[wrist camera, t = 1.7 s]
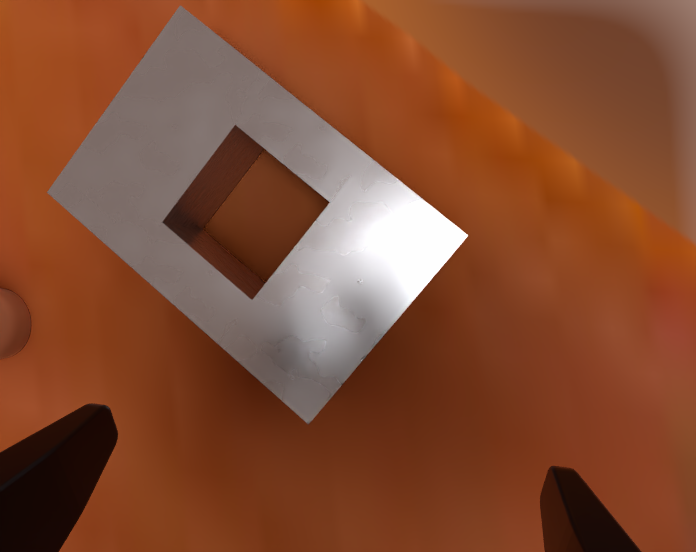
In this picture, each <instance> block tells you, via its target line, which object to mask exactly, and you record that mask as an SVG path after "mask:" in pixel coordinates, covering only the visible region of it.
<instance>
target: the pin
mask: <svg viewBox="0 0 696 552" xmlns="http://www.w3.org/2000/svg"><path fill="white" fill-rule="evenodd" d="M30 331H31V318H30V313H29V310H28V308H27V306H26V304H25V303H24V301H23V300H22V299H21V298H20V297H19V296H18V295H17V294H15V293H14V292H12V291H10V290H7V289H2V288H0V359H3V358H8V357H11V356H13V355H15V354H17V353H18V352H19V351H20V350H21V349H22V348H23V347H24V346H25V344H26V343H27V341H28V338H29V336H30Z"/></svg>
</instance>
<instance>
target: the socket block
mask: <svg viewBox="0 0 696 552" xmlns="http://www.w3.org/2000/svg"><path fill="white" fill-rule="evenodd" d="M263 149H266V150H267V151H268V152H269V153H270V154H272V155H273V156H274V157H275V158H276V159H278V160H279V161H280V162H281V163H283V164H284V165H285V166H286V167H287V168H289V169H290V170H291V171H292V172H294V173H295V174H296V175H297V176H298V177H300V178H301V179H302V180H303V181H304V182H306V183H307V184H308V185H309V186H311V187H312V188H313V189H314V190H315V191H317V192H318V193H319V194H320V195H322V196H323V197H324V198H325V199H326V200H328V201H329V202H330V203H329V204H328V206H327V207H326V208H325V209H324V211H323V212H322V213H321V214H320V216H319V217H318V218H317V219H316V221H315V222H314V223H313V224H312V226H311V227H310V228H309V229H308V231H307V232H306V233H305V235H304V236H303V237H302V238H301V240H300V241H299V242H298V243H297V245H296V246H295V247H294V248H293V250H292V251H291V252H290V253H289V255H288V256H287V257H286V258H285V260H284V261H283V262H282V263H281V265H280V266H279V267H278V268H277V270H276V271H275V272H274V273H273V275H272V276H271V277H270V278H269V280H268V281H267V282H266V283H265V282H263V281H262V280H261V279H260V278H259V277H258V276H256V275H255V274H254V273H253V272H252V271H251V270H249V269H248V268H247V267H246V266H245V265H244V264H242V263H241V262H240V261H239V260H238V259H237V258H235V257H234V256H233V255H232V254H231V253H230V252H228V251H227V250H226V249H225V248H224V247H223V246H221V245H220V244H219V243H218V242H217V241H216V240H214V239H213V238H212V237H211V236H210V235H209V234H208V233H206V232H205V231H204V230H203V228H204V227H205V225H206V224H207V223H208V221H209V220H210V219H211V217H212V216H213V215H214V213H215V212H216V211H217V210H218V208H219V207H220V206H221V204H222V203H223V202H224V200H225V199H226V198H227V196H228V195H229V194H230V193H231V191H232V190H233V189H234V187H235V186H236V185H237V183H238V182H239V181H240V179H241V178H242V177H243V176H244V174H245V173H246V172H247V170H248V169H249V168H250V166H251V165H252V164H253V162H254V161H255V160H256V159H257V157H258V156H259V155H260V153H261V152H262V151H263ZM47 193H48V194H49V195H51V196H52V197H53V198H54V199H55V200H56V201H57V202H58V203H60V204H61V205H62V206H63V207H64V208H65V209H66V210H67V211H69V212H70V213H71V214H72V215H73V216H74V217H75V218H76V219H78V220H79V221H80V222H81V223H82V224H83V225H84V226H85V227H87V228H88V229H89V230H90V231H91V232H92V233H93V234H94V235H96V236H97V237H98V238H99V239H100V240H101V241H102V242H104V243H105V244H106V245H107V246H108V247H109V248H110V249H111V250H113V251H114V252H115V253H116V254H117V255H118V256H119V257H120V258H122V259H123V260H124V261H125V262H126V263H127V264H128V265H129V266H131V267H132V268H133V269H134V270H135V271H136V272H137V273H138V274H140V275H141V276H142V277H143V278H144V279H145V280H146V281H147V282H149V283H150V284H151V285H152V286H153V287H154V288H155V289H156V290H158V291H159V292H160V293H161V294H162V295H163V296H164V297H165V298H167V299H168V300H169V301H170V302H171V303H172V304H173V305H175V306H176V307H177V308H178V309H179V310H180V311H181V312H182V313H184V314H185V315H186V316H187V317H188V318H189V319H190V320H191V321H193V322H194V323H195V324H196V325H197V326H198V327H199V328H200V329H202V330H203V331H204V332H205V333H206V334H207V335H208V336H209V337H211V338H212V339H213V340H214V341H215V342H216V343H217V344H218V345H220V346H221V347H222V348H223V349H224V350H225V351H226V352H227V353H229V354H230V355H231V356H232V357H233V358H234V359H235V360H236V361H238V362H239V363H240V364H241V365H242V366H243V367H244V368H246V369H247V370H248V371H249V372H250V373H251V374H252V375H253V376H255V377H256V378H257V379H258V380H259V381H260V382H261V383H262V384H264V385H265V386H266V387H267V388H268V389H269V390H270V391H271V392H273V393H274V394H275V395H276V396H277V397H278V398H279V399H280V400H282V401H283V402H284V403H285V404H286V405H287V406H288V407H289V408H291V409H292V410H293V411H294V412H295V413H296V414H297V415H298V416H300V417H301V418H302V419H303V420H304V421H305V422H306V423H308V424H309V423H310V422H311V421H312V420H313V419H314V417H315V416H316V415H317V414H318V413H319V411H320V410H321V409H322V408H323V407H324V406H325V404H326V403H327V402H328V401H329V400H330V398H331V397H332V396H333V395H334V394H335V393H336V391H337V390H338V389H339V388H340V387H341V385H342V384H343V383H344V382H345V381H346V380H347V378H348V377H349V376H350V375H351V374H352V372H353V371H354V370H355V369H356V368H357V366H358V365H359V364H360V363H361V362H362V361H363V359H364V358H365V357H366V356H367V355H368V353H369V352H370V351H371V350H372V349H373V348H374V346H375V345H376V344H377V343H378V342H379V340H380V339H381V338H382V337H383V336H384V335H385V333H386V332H387V331H388V330H389V329H390V327H391V326H392V325H393V324H394V323H395V322H396V320H397V319H398V318H399V317H400V316H401V314H402V313H403V312H404V311H405V310H406V308H407V307H408V306H409V305H410V304H411V303H412V301H413V300H414V299H415V298H416V297H417V295H418V294H419V293H420V292H421V291H422V290H423V288H424V287H425V286H426V285H427V284H428V282H429V281H430V280H431V279H432V278H433V277H434V275H435V274H436V273H437V272H438V271H439V269H440V268H441V267H442V266H443V265H444V264H445V262H446V261H447V260H448V259H449V258H450V256H451V255H452V254H453V253H454V252H455V250H456V249H457V248H458V247H459V246H460V245H461V243H462V242H463V241H464V240H465V239H466V237H467V236H468V235H467V234H466V233H464V232H463V231H462V230H461V229H459V228H458V227H457V226H456V225H454V224H453V223H452V222H451V221H449V220H448V219H447V218H446V217H444V216H443V215H442V214H441V213H439V212H438V211H437V210H436V209H434V208H433V207H432V206H431V205H429V204H428V203H427V202H426V201H424V200H423V199H422V198H421V197H419V196H418V195H417V194H416V193H414V192H413V191H412V190H411V189H409V188H408V187H407V186H406V185H404V184H403V183H402V182H401V181H399V180H398V179H397V178H396V177H394V176H393V175H392V174H391V173H389V172H388V171H387V170H386V169H384V168H383V167H382V166H381V165H379V164H378V163H377V162H376V161H374V160H373V159H372V158H371V157H369V156H368V155H367V154H366V153H364V152H363V151H362V150H361V149H359V148H358V147H357V146H356V145H354V144H353V143H352V142H351V141H349V140H348V139H347V138H346V137H344V136H343V135H342V134H341V133H339V132H338V131H337V130H336V129H334V128H333V127H332V126H331V125H329V124H328V123H327V122H326V121H324V120H323V119H322V118H320V117H319V116H318V115H317V114H315V113H314V112H313V111H312V110H310V109H309V108H308V107H307V106H305V105H304V104H303V103H302V102H300V101H299V100H298V99H297V98H295V97H294V96H293V95H292V94H290V93H289V92H288V91H287V90H285V89H284V88H283V87H282V86H280V85H279V84H278V83H277V82H275V81H274V80H273V79H272V78H270V77H269V76H268V75H267V74H265V73H264V72H263V71H262V70H260V69H259V68H258V67H257V66H255V65H254V64H253V63H252V62H250V61H249V60H248V59H247V58H245V57H244V56H243V55H242V54H240V53H239V52H238V51H237V50H235V49H234V48H233V47H232V46H230V45H229V44H228V43H227V42H225V41H224V40H223V39H222V38H220V37H219V36H218V35H217V34H215V33H214V32H213V31H212V30H210V29H209V28H208V27H207V26H205V25H204V24H203V23H202V22H200V21H199V20H198V19H197V18H195V17H194V16H193V15H192V14H190V13H189V12H188V11H187V10H185V9H184V8H183V7H182V6H179V8H178V9H177V11H176V12H175V13H174V15H173V16H172V18H171V19H170V20H169V22H168V23H167V25H166V26H165V27H164V29H163V30H162V32H161V33H160V35H159V36H158V37H157V39H156V40H155V42H154V43H153V44H152V46H151V47H150V49H149V50H148V51H147V53H146V54H145V56H144V57H143V58H142V60H141V61H140V63H139V64H138V65H137V67H136V68H135V70H134V71H133V72H132V74H131V75H130V77H129V78H128V79H127V81H126V82H125V84H124V85H123V86H122V88H121V89H120V91H119V92H118V94H117V95H116V96H115V98H114V99H113V101H112V102H111V103H110V105H109V106H108V108H107V109H106V110H105V112H104V113H103V115H102V116H101V117H100V119H99V120H98V122H97V123H96V124H95V126H94V127H93V129H92V130H91V131H90V133H89V134H88V136H87V137H86V138H85V140H84V141H83V143H82V144H81V146H80V147H79V148H78V150H77V151H76V153H75V154H74V155H73V157H72V158H71V160H70V161H69V162H68V164H67V165H66V167H65V168H64V169H63V171H62V172H61V174H60V175H59V176H58V178H57V179H56V181H55V182H54V183H53V185H52V186H51V188H50V189H49V190H48V192H47Z"/></svg>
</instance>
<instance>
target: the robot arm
mask: <svg viewBox="0 0 696 552" xmlns="http://www.w3.org/2000/svg"><path fill="white" fill-rule="evenodd" d="M117 439H118V431H117V428H116V425H115V422H114V419H113V416H112V413H111V410H110V408H109V407H108V406H106V405H100V404H87V405H85V406H83V407H81V408H79V409H77V410H75V411H74V412H72V413H70V414H68V415H66V416H65V417H63V418H61V419H59V420H58V421H56V422H54V423H52V424H50V425H49V426H47V427H45V428H43V429H41V430H40V431H38V432H36V433H34V434H32V435H31V436H29V437H27V438H25V439H23V440H22V441H20V442H18V443H16V444H15V445H13V446H11V447H9V448H7V449H6V450H4V451H2V452H0V552H59V550H60V549H61V547H62V545H63V544H64V542H65V541H66V539H67V537H68V536H69V534H70V532H71V531H72V529H73V527H74V526H75V524H76V522H77V521H78V519H79V517H80V515H81V514H82V512H83V510H84V508H85V506H86V504H87V502H88V500H89V498H90V496H91V494H92V492H93V490H94V488H95V486H96V484H97V482H98V480H99V478H100V476H101V474H102V472H103V470H104V468H105V466H106V464H107V462H108V459H109V457H110V455H111V453H112V451H113V449H114V447H115V445H116V442H117ZM540 509H541V519H542V529H543V538H544V548H545V552H641V551H640V549H639V548H638V547H637V546H636V544H635V543H634V542H633V541H632V539H631V538H630V537H629V536H628V534H627V533H626V532H625V531H624V530H623V528H622V527H621V526H620V525H619V523H618V522H617V521H616V520H615V518H614V517H613V516H612V515H611V514H610V512H609V511H608V510H607V509H606V507H605V506H604V505H603V504H602V502H601V501H600V500H599V499H598V497H597V496H596V495H595V494H594V493H593V491H592V490H591V489H590V488H589V486H588V485H587V484H586V483H585V481H584V480H583V479H582V478H581V476H580V475H579V474H578V473H577V472H576V471H575V470H574V469H572V468H567V467H559V466H551V467H550V468H549V470H548V472H547V476H546V479H545V482H544V485H543V488H542V492H541V496H540Z"/></svg>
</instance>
